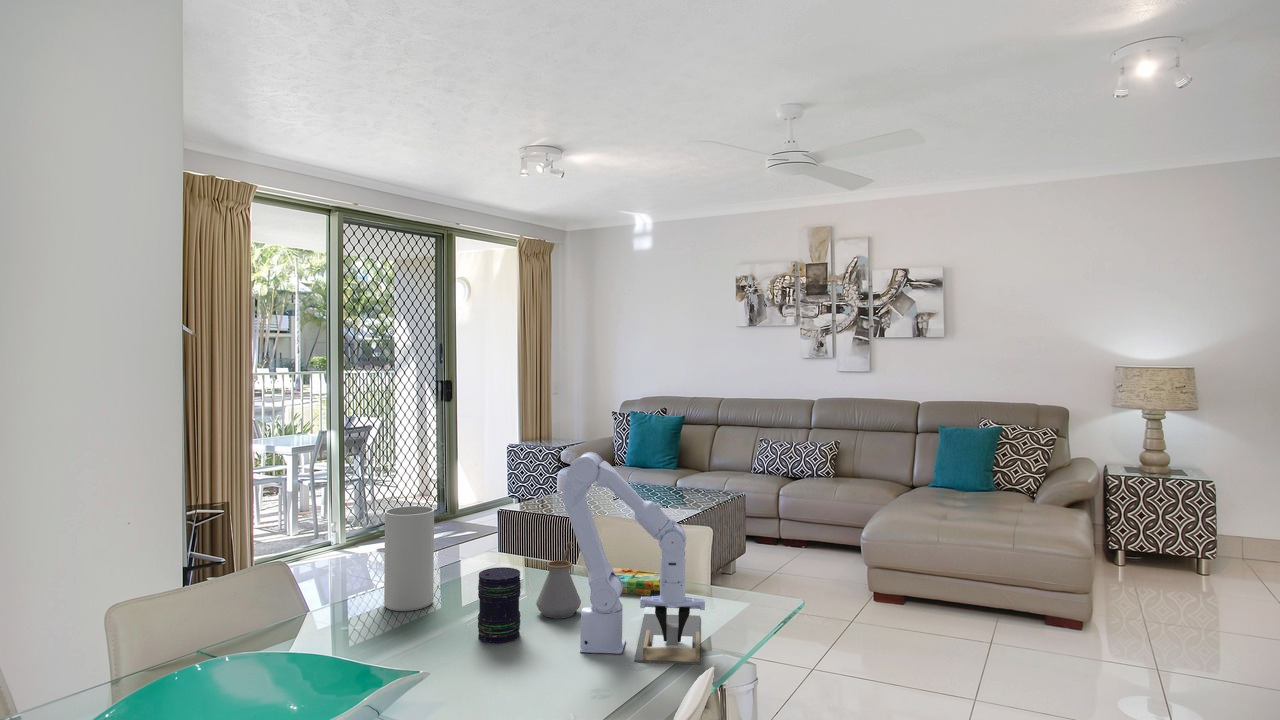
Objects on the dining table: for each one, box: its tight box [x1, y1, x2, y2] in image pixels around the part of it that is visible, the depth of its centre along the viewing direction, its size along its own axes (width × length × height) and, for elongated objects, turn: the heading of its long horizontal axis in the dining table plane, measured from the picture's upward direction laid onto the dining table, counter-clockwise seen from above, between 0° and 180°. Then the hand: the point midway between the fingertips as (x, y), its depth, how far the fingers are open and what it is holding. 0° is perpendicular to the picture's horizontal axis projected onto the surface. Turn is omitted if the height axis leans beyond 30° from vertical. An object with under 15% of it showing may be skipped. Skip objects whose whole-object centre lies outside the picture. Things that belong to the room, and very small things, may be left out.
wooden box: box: [643, 630, 701, 662], centre depth 164 cm, size 12×11×3 cm
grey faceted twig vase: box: [535, 541, 582, 620], centre depth 194 cm, size 21×12×15 cm, turn 174°
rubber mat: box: [633, 613, 701, 666], centre depth 173 cm, size 14×30×1 cm, turn 175°
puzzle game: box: [613, 567, 660, 596], centre depth 211 cm, size 12×5×20 cm
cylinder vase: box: [383, 505, 435, 612], centre depth 196 cm, size 12×12×25 cm
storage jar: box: [477, 566, 522, 645], centre depth 173 cm, size 10×10×15 cm
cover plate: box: [652, 623, 693, 648], centre depth 166 cm, size 9×9×5 cm
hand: (672, 640), depth 166 cm, fingers closed on cover plate, 2 cm apart
